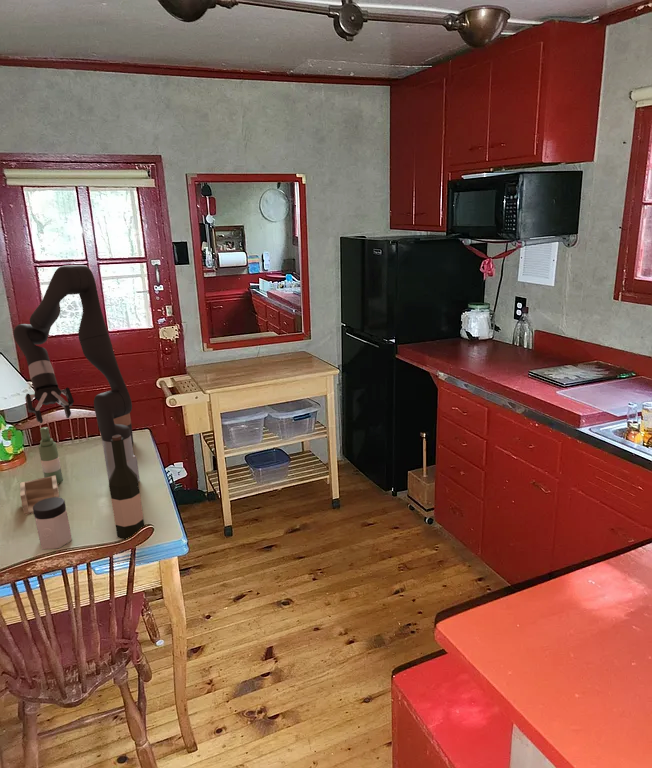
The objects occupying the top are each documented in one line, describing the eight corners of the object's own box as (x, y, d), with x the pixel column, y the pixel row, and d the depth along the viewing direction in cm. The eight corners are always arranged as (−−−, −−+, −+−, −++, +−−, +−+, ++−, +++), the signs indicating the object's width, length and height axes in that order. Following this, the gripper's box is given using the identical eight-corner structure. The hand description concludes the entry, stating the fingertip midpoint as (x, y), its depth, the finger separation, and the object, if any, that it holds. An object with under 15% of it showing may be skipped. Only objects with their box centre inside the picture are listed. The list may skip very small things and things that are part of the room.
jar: (33, 550, 158) (25, 512, 155) (45, 534, 166) (38, 497, 163) (66, 548, 159) (59, 510, 155) (77, 532, 167) (70, 496, 163)
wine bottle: (140, 539, 162) (126, 441, 153) (111, 539, 162) (95, 442, 153) (149, 523, 170) (136, 430, 161) (122, 524, 170) (107, 431, 161)
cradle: (24, 500, 186) (20, 482, 185) (58, 493, 191) (55, 475, 189) (24, 514, 178) (20, 496, 176) (60, 506, 182) (57, 487, 180)
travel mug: (129, 438, 235) (122, 392, 230) (137, 443, 230) (130, 396, 224) (111, 444, 231) (103, 397, 225) (118, 449, 225) (111, 401, 219)
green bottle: (66, 479, 201) (57, 426, 195) (54, 486, 196) (44, 432, 190) (53, 477, 203) (43, 424, 197) (41, 484, 198) (30, 430, 192)
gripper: (21, 375, 188) (33, 420, 185) (66, 368, 197) (79, 411, 193) (18, 384, 194) (30, 428, 190) (62, 377, 203) (75, 419, 199)
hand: (55, 419), depth 192 cm, fingers open, 8 cm apart
